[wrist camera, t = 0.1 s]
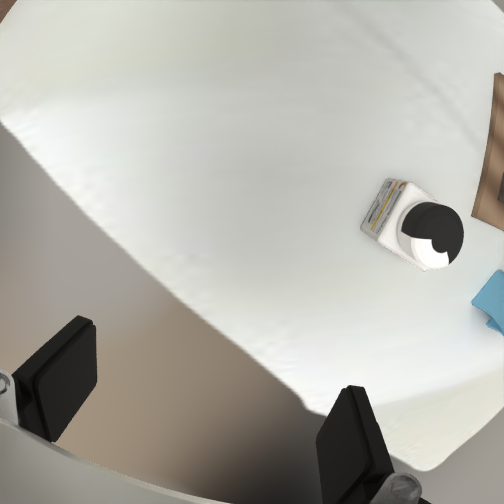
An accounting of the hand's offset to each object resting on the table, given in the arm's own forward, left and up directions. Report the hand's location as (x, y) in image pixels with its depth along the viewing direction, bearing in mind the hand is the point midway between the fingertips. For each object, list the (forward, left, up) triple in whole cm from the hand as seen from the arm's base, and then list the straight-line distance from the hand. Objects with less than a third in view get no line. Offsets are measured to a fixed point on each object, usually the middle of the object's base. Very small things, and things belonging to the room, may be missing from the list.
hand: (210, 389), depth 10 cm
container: (-6, +18, -31) cm, 37 cm away
